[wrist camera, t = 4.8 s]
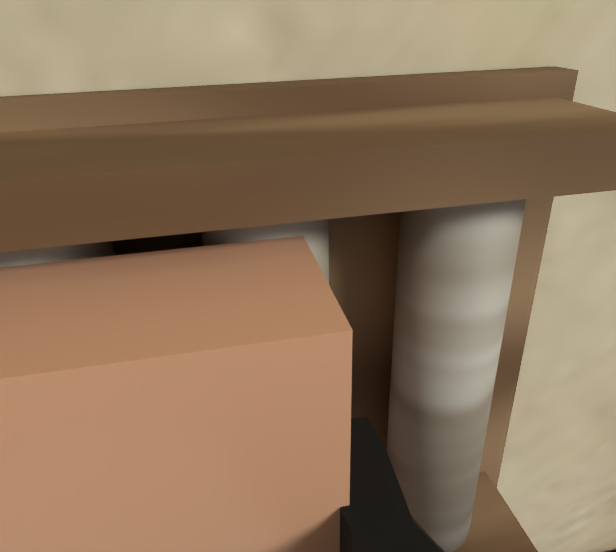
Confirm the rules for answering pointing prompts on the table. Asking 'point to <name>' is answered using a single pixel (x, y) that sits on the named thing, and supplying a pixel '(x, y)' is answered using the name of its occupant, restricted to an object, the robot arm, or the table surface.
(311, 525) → the tile
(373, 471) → the robot arm
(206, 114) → the track
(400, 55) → the table surface
